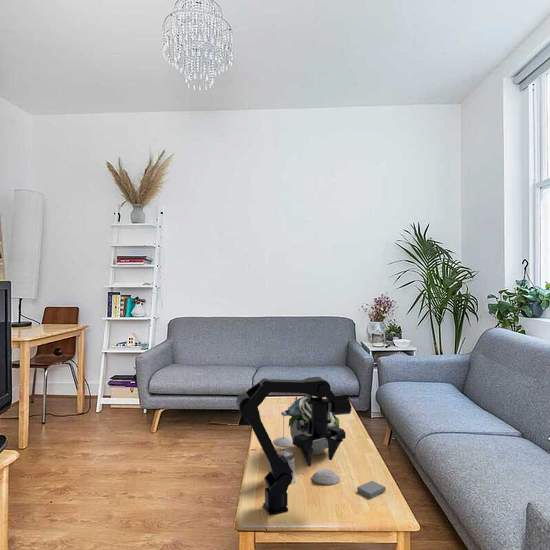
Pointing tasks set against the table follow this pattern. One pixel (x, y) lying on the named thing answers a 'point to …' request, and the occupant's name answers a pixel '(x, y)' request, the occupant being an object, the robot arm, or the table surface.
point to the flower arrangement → (303, 412)
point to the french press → (287, 453)
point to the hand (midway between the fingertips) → (319, 463)
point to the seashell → (325, 477)
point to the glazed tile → (371, 489)
